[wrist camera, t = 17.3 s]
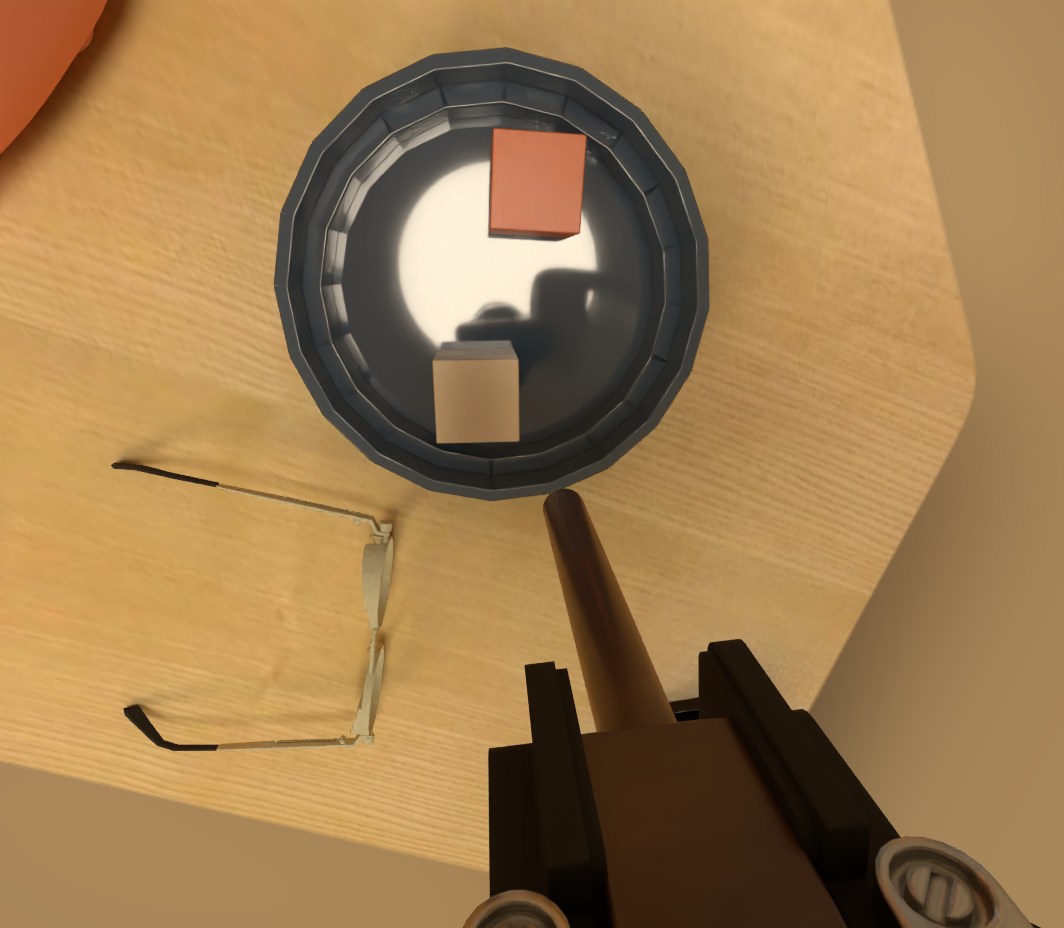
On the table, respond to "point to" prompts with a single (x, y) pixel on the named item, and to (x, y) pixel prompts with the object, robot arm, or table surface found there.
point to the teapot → (38, 54)
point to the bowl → (490, 273)
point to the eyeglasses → (374, 565)
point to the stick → (672, 776)
